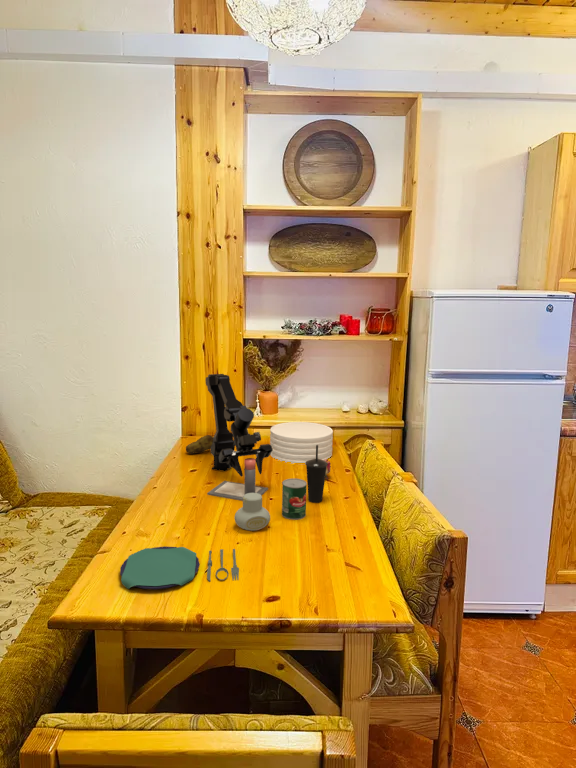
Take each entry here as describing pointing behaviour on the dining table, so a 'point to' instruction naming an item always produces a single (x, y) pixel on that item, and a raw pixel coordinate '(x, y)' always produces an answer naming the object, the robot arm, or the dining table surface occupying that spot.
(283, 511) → the canned tomato
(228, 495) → the writing mat
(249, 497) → the air freshener
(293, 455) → the plate stack
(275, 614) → the dining table surface
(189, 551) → the cutlery set
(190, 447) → the potato
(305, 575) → the dining table surface
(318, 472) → the drinking cup
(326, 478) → the flower
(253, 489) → the marker
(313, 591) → the dining table surface
